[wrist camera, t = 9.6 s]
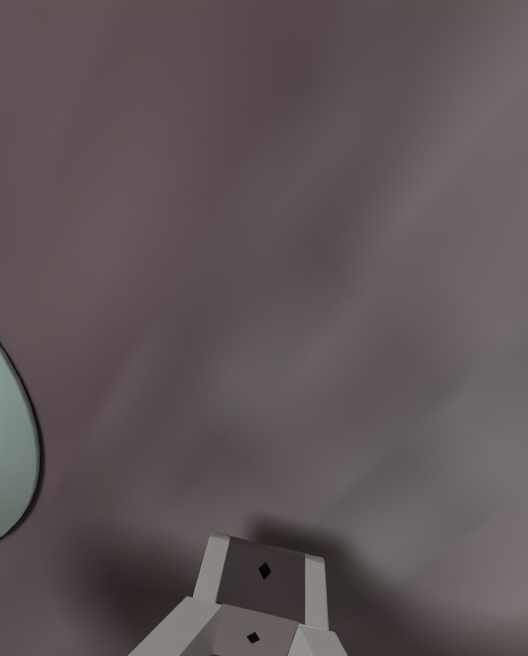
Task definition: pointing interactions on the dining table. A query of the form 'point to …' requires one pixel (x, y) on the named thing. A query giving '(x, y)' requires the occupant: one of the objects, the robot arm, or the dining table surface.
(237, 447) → the dining table surface
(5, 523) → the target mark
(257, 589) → the robot arm
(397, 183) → the dining table surface
